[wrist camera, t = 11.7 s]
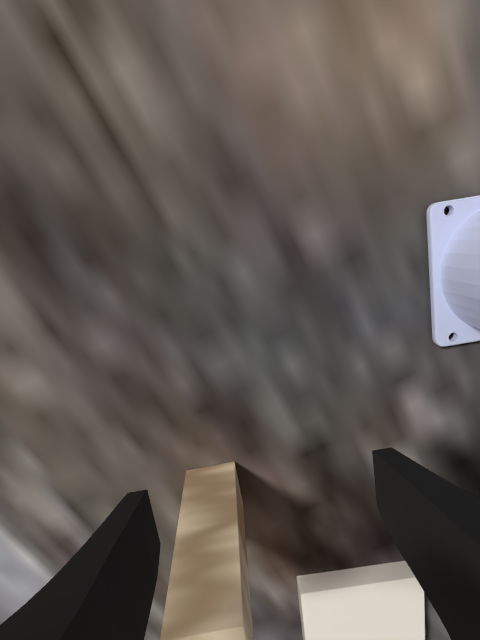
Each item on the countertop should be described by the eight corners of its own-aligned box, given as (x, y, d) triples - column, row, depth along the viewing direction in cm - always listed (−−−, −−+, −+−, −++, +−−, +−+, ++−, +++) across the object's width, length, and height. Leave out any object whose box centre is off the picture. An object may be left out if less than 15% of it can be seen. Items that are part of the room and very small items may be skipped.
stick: (234, 461, 23) (243, 626, 13) (242, 503, 24) (257, 688, 14) (186, 470, 23) (159, 641, 13) (196, 511, 24) (178, 703, 14)
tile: (423, 576, 24) (425, 672, 26) (410, 553, 26) (412, 644, 28) (300, 594, 24) (310, 689, 26) (295, 569, 26) (304, 660, 27)
